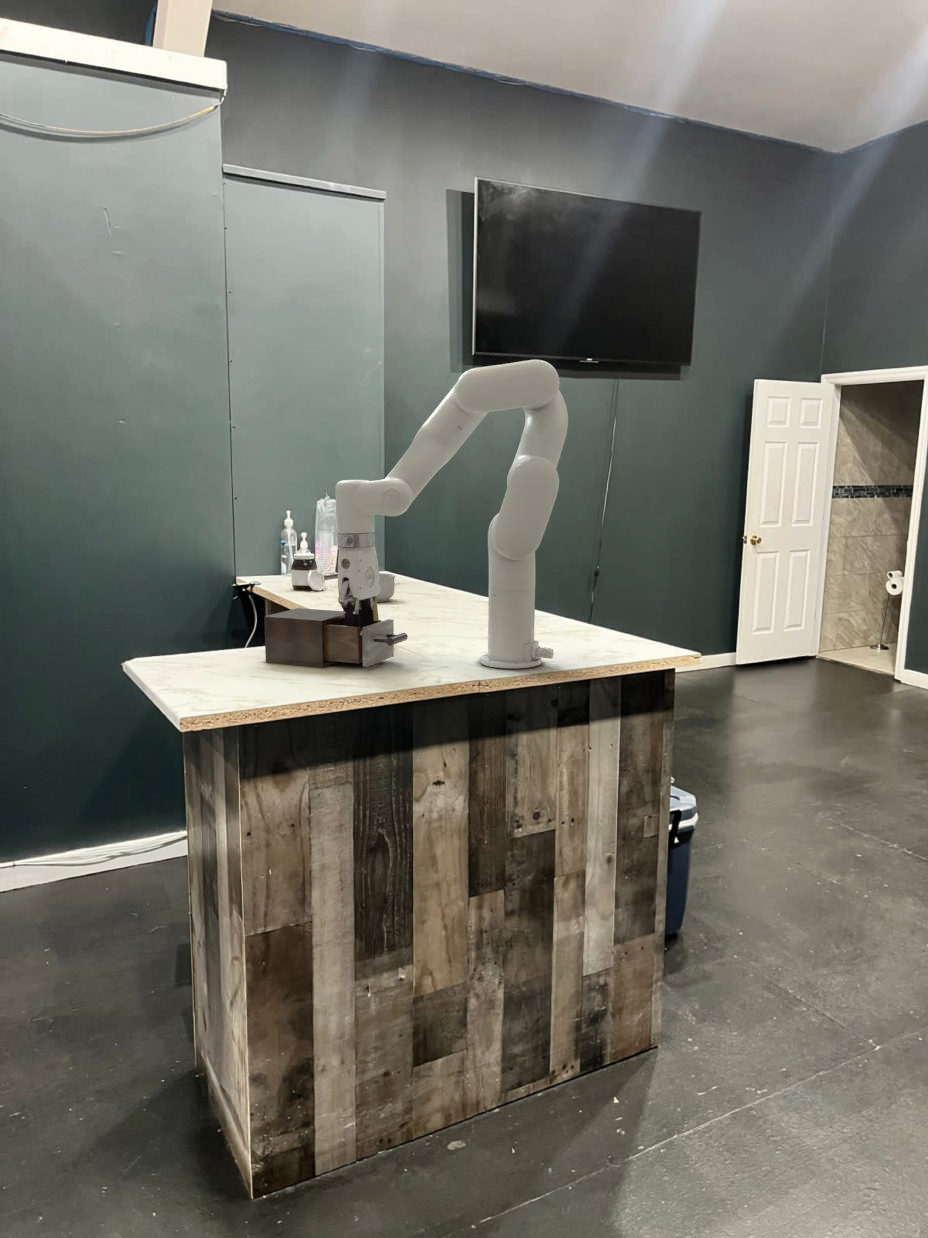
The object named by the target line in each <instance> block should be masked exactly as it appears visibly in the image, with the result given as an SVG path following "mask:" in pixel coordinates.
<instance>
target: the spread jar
mask: <svg viewBox="0 0 928 1238" xmlns="http://www.w3.org/2000/svg"><path fill="white" fill-rule="evenodd" d="M290 569H291V571H290V573H291V575H290V576H291V586H292V587H291V588H292V589H294V590H295V591H315V592H319V591H322V590H323V589H324V588H325V586H326V580H325V579H326V578H325V576H324V574H323V573H322V572H321V571H320V570H318V565H317V562H316V560H315V553H294V554H293V561H292V564H291V567H290Z"/></svg>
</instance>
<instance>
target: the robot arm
mask: <svg viewBox="0 0 928 1238" xmlns="http://www.w3.org/2000/svg"><path fill="white" fill-rule="evenodd" d="M559 388H560V376H559V374H558V371H557V370H556V368H555V367H554V366H553V365H552V364H551V363H549V362H547V361H545V360H542V359H529V360H522V361H516V362H510V363H502V364H496V365H495V364H494V365H488V366H479V367H474V368H470V369H467V370H466V371H464V372H463V373H462V374H461V375H460V376H459V378H458V379H457V381H456V383H455V384H454V385H453V386H452V388H451V389H450V391H449V392H448V393H447V394H446V396H445V397H444V398H443V399H442V400H441V402H440V403H439V404H438V406H437V407H436V408H435V409H434V410H433V411H432V413H431V414H430V415H429V417H428V418H427V419H426V420H425V422H424V423H422V425H421V426H420V427H419V429H418V431H417V433H416V434H415V436H414V438H413V440H412V441H411V444H410V445H409V447H408V448H407V449H406V451H405V452H404V454H403V455H402V457H400V459H399V460H398V461H397V462H396V463H395V466H394V467H393V468H392V469H391V470H390V472H389V473H388V474H387V475H386V477H384V479H383V478H382V479H377V480H368V479H345V480H344V479H343V480H340V481H338V482H337V483H336V484H335V509H336V510H335V511H336V512H335V513H336V516H335V517H336V536H337V550H338V559H337V590H338V591H337V592H338V598H337V602H338V603H339V604H340V606H341V608H342V611H343V613H344V614H345V626H355V627H360V632H361V629H362V627H366V626H369V625H372V624H374V613H373V610H371V609H374V601H375V597H376V595H378V594H379V593H380V577H379V573H380V567H379V559H378V554H377V549H376V529H375V527H376V525H375V524H376V523H375V516H385V517H398V516H401V515H403V514H404V513H405V512H407V510H408V509H409V508H410V506H411V505H412V504H413V502H414V501H415V500H416V498H417V497H418V496H419V495H420V493H421V492H422V491H423V490H424V488H425V487H426V486H427V485H428V483H429V482H430V481H431V480H432V479H433V477H434V476H436V474H437V473H438V472H439V471H440V469H442V468H443V467H444V466H445V465H446V464H447V463H449V461H451V459H452V458H453V457H454V456H455V455H456V454H457V452H458V451H459V450H460V448H461V447H462V446H463V444H464V443H466V441H467V440H468V438H469V437H471V435H472V434H473V432H474V431H475V430H476V428H477V427H478V426H479V425H480V424H481V422H482V421H484V419H485V417H486V416H487V415H488V414H489V413H492V412H501V411H508V410H515V409H521V408H522V410H523V413H524V417H525V418H524V419H525V420H524V421H525V422H524V427H523V431H522V433H521V437H520V442H519V444H518V448H517V451H516V453H515V456H514V459H513V462H512V464H511V466H510V469H509V471H508V474H507V477H506V487H507V488H506V490H505V494H504V496H503V500H502V502H501V506H500V509H499V512H498V513H497V514H496V515H494V517H493V518H492V520H491V521H490V523H489V526H488V530H487V552H488V553H487V555H488V594H487V595H488V598H487V600H488V602H487V603H488V604H487V605H488V607H487V608H488V612H487V614H488V615H487V653H485V654H483V655H481V656H480V658H479V660H480V661H479V662H480V664H482V665H484V666H485V667H486V666H487V667H491V668H497V669H509V670H510V669H529V668H534V667H535V668H536V667H538V666H540V665H541V664H542V658H543V659H551V660H552V659H553V658H554V655H555V654H554V653H555V652H554V651H555V650H554V649H553V648H551V647H541V646H540V645H539V640H535V617H536V615H535V614H536V613H535V611H536V610H535V609H536V551H537V550H538V549H539V547H540V545H541V542H542V540H543V538H544V535H545V532H546V529H547V526H548V523H549V521H550V518H551V515H552V512H553V509H554V506H555V503H556V500H557V496H558V493H559V488H560V476H559V472H558V469H557V467H558V464H559V461H560V458H561V454H562V451H563V447H564V445H565V441H566V437H567V433H568V429H569V428H568V427H569V413H568V409H567V408H568V407H567V405H566V402H565V398H564V396H563V394H562V392H561V391H560V389H559ZM351 597H355V598H351ZM364 599H365V600H364ZM351 602H354V605H352V604H351ZM359 604H360V608H361V609H359V610H358V606H359ZM358 611H359V614H358Z"/></svg>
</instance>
